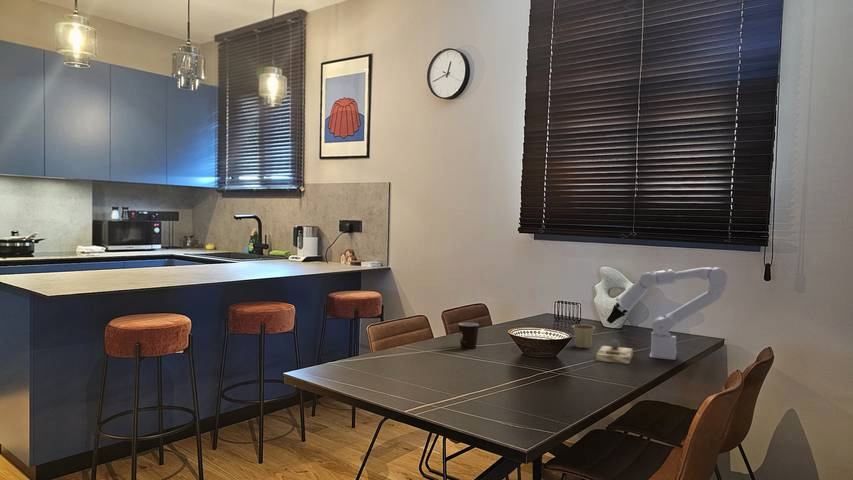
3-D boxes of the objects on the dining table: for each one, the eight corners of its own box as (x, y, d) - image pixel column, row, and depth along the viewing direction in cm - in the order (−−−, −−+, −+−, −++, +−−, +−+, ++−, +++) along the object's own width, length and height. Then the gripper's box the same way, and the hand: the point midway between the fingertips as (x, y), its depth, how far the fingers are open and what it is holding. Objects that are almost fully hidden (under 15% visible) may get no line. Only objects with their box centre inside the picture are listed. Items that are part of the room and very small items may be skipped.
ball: (620, 348, 238) (620, 339, 238) (619, 350, 235) (619, 341, 235) (610, 347, 240) (611, 338, 239) (609, 349, 236) (610, 340, 236)
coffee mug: (479, 350, 242) (479, 326, 242) (458, 350, 242) (458, 326, 242) (477, 344, 254) (477, 321, 254) (457, 344, 254) (457, 321, 254)
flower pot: (589, 350, 245) (590, 329, 245) (568, 347, 251) (568, 326, 250) (598, 346, 252) (598, 326, 252) (577, 343, 258) (577, 323, 258)
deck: (632, 354, 238) (632, 348, 238) (629, 363, 222) (629, 357, 222) (601, 351, 243) (602, 345, 243) (596, 360, 227) (596, 354, 227)
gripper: (625, 288, 246) (604, 311, 250) (622, 291, 233) (599, 316, 237) (639, 299, 244) (617, 322, 248) (637, 303, 231) (613, 328, 234)
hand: (609, 320), depth 242 cm, fingers open, 7 cm apart
